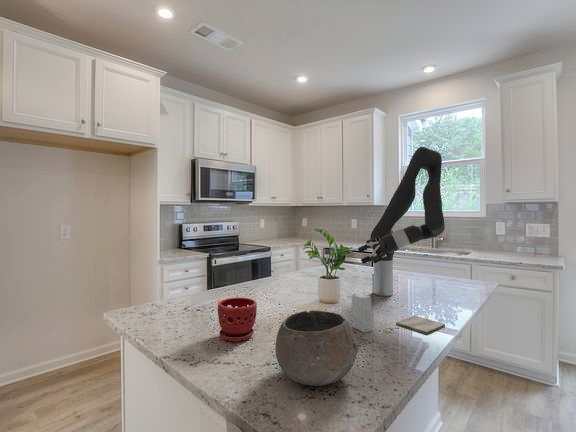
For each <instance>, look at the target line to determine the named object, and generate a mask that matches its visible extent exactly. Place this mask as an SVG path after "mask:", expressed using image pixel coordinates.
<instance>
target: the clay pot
mask: <svg viewBox="0 0 576 432" xmlns="http://www.w3.org/2000/svg"><path fill="white" fill-rule="evenodd" d="M274 349H275V358H276V361H277V363H278V365H279V368H280V369H281V371H282V372H283V373H284V375H286V377H288V378H289V380H290V379H291V380H292V381H293V382H294V383H297V384H301V385H304V386H311V387H312V386H314V387H318V386H322V387H323V386H326V385H330V384H334V383H336V382H339V381H340V380H341V379H343V378H344V377H345V376H346V375H347V374H348V373H349V372H350V371H351V369H352V368H353V367H354V364H355V362H356V359H357V353H358V352H359V345H358V344H357V341H356V337H355V334H354V332H353V329H352V327H351V324H350V323H349V322H348V320H347V319H346V318H345V317H344V316H343V315H341V314H339V313H336V312H333V311H332V312H331V311H324V310H312V309H311V310H309V311H307V310H303V311H300V312H296V313H293V314H291V315H289V316H287V317H286V318H285V319H284V320H283V322H282V323H281V324H280V326H279V328H278V332H277V335H276V340H275V348H274Z"/></svg>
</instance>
